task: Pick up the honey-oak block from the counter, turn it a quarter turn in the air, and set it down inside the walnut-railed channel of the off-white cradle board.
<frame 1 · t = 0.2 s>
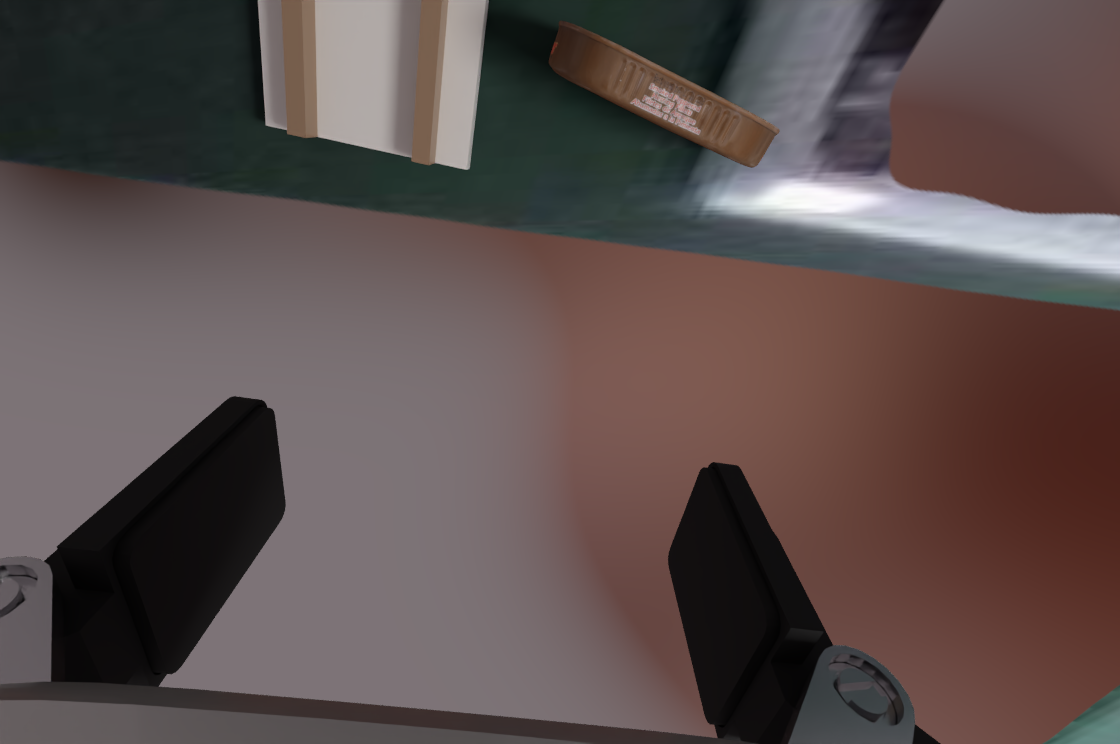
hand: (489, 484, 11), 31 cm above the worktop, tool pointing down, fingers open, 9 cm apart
tin: (651, 100, 35), on the worktop
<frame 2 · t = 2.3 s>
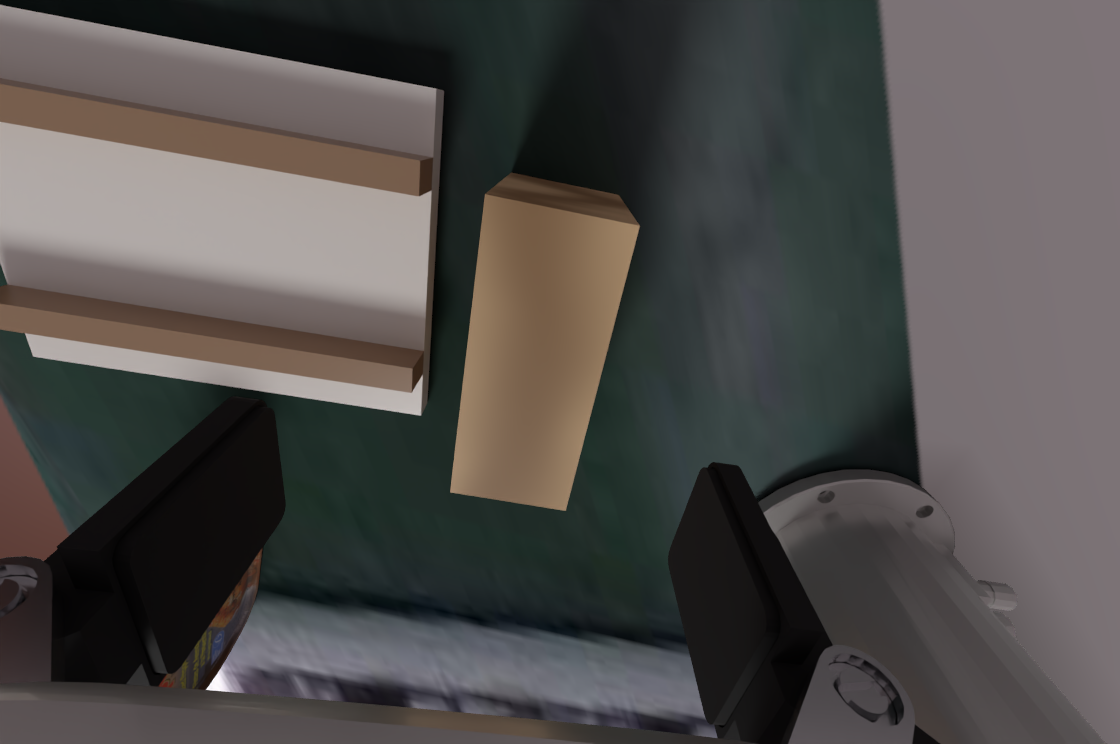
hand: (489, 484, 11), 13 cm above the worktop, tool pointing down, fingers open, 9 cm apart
tin: (239, 539, 30), on the worktop
oak block: (542, 307, 23), on the worktop
cradle: (227, 234, 21), on the worktop
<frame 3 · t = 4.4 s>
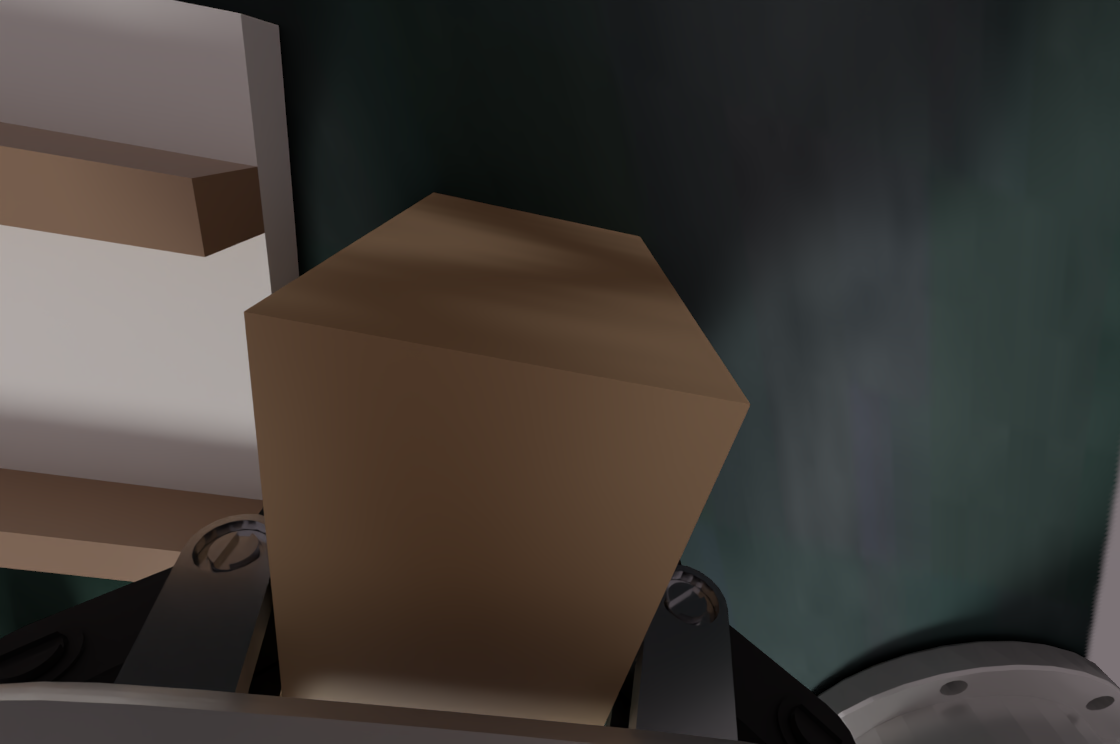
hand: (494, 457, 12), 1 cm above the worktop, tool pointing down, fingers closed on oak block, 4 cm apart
oak block: (501, 424, 13), on the worktop, touching gripper
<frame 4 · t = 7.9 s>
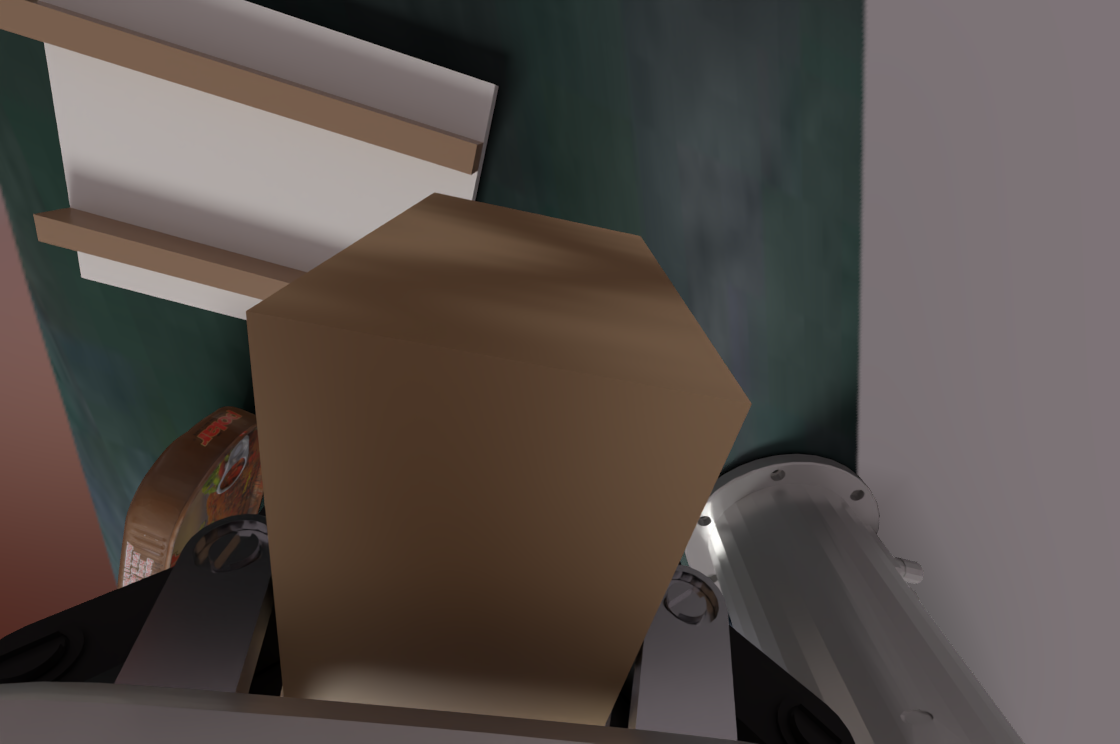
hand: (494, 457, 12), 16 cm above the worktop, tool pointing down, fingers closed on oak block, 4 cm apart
tin: (244, 472, 32), on the worktop
oak block: (501, 424, 13), point 14 cm above the worktop, touching gripper
cradle: (283, 186, 24), on the worktop
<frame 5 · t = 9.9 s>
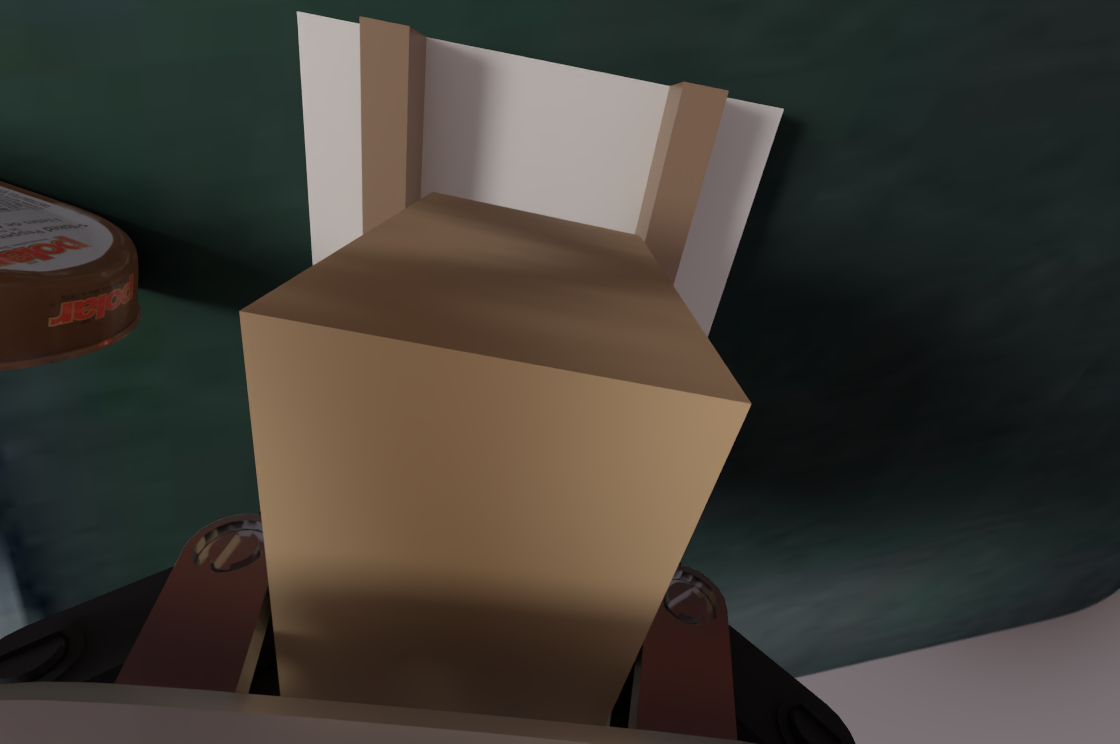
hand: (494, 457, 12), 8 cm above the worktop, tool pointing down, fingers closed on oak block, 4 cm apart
oak block: (500, 424, 13), point 7 cm above the worktop, touching gripper
cradle: (514, 334, 19), on the worktop
when the fingers open (4 cm above the worktop, at t = 11.6 s): oak block stays where it is, resting on cradle.
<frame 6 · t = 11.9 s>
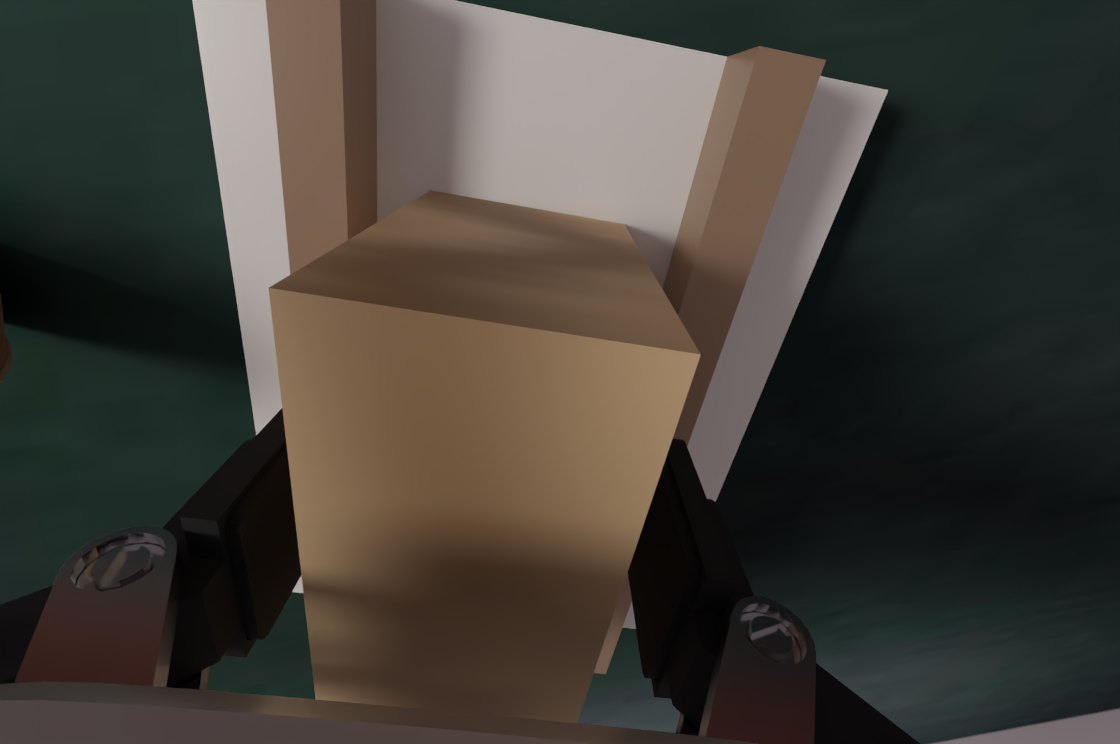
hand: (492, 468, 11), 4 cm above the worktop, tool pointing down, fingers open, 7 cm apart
oak block: (502, 407, 14), point 1 cm above the worktop, touching cradle
cradle: (508, 384, 15), on the worktop
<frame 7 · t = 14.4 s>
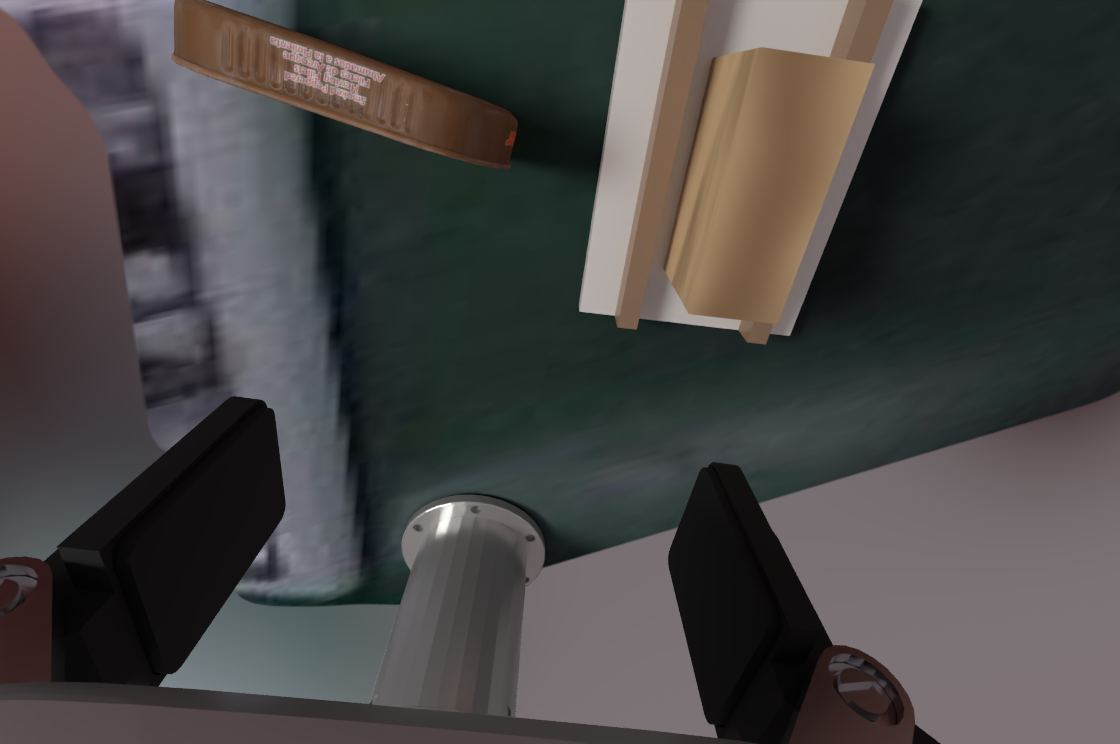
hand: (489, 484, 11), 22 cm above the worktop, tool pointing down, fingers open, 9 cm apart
tin: (389, 89, 27), on the worktop
oak block: (724, 179, 27), point 1 cm above the worktop, touching cradle
cradle: (720, 174, 28), on the worktop
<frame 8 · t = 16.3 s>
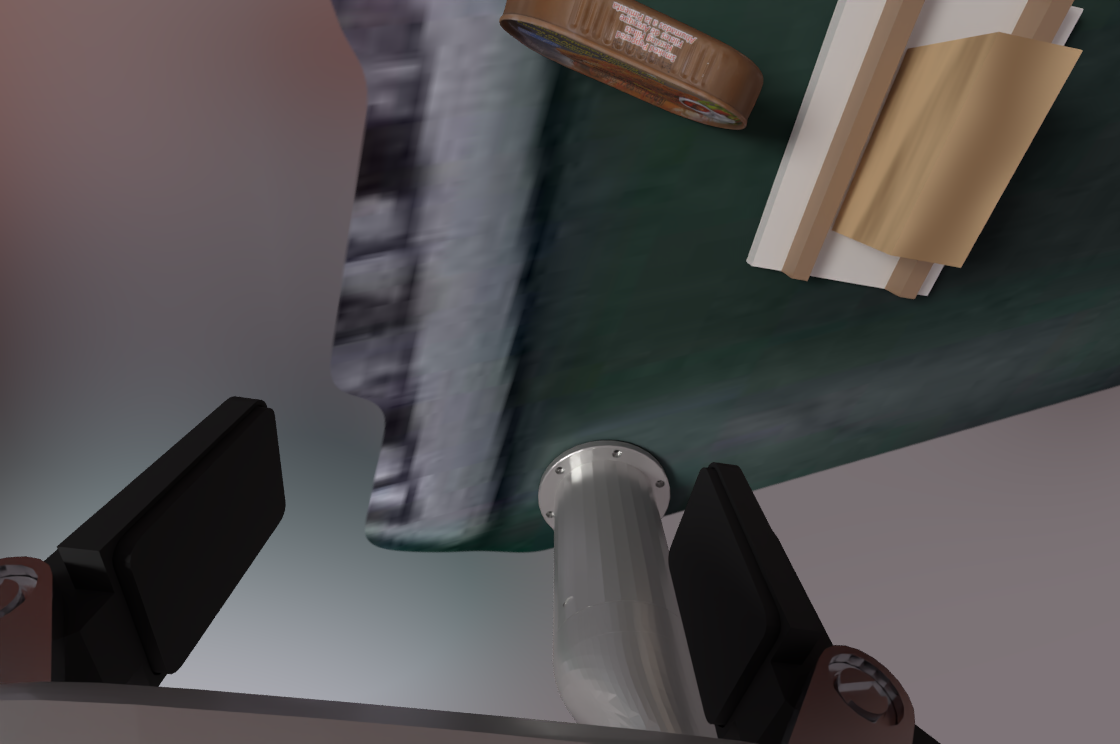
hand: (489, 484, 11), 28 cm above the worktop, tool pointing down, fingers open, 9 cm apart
tin: (624, 62, 31), on the worktop
oak block: (898, 152, 33), point 1 cm above the worktop, touching cradle
cradle: (888, 150, 34), on the worktop
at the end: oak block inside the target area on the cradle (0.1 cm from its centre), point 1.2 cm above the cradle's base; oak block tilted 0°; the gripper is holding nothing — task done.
